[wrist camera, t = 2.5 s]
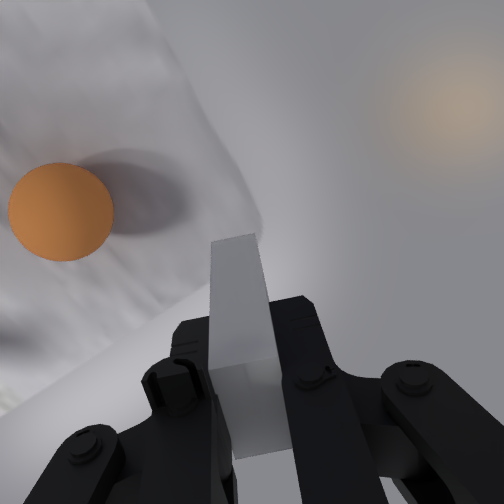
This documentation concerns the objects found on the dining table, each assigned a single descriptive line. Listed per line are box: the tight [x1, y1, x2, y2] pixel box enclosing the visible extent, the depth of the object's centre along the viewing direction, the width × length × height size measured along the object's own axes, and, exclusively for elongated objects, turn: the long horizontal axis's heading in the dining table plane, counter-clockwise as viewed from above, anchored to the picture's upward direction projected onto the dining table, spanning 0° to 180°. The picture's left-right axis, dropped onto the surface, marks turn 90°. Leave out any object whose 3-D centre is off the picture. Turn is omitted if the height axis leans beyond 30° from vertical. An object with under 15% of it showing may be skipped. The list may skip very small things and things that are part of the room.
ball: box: [8, 163, 114, 261], centre depth 27 cm, size 6×6×6 cm
